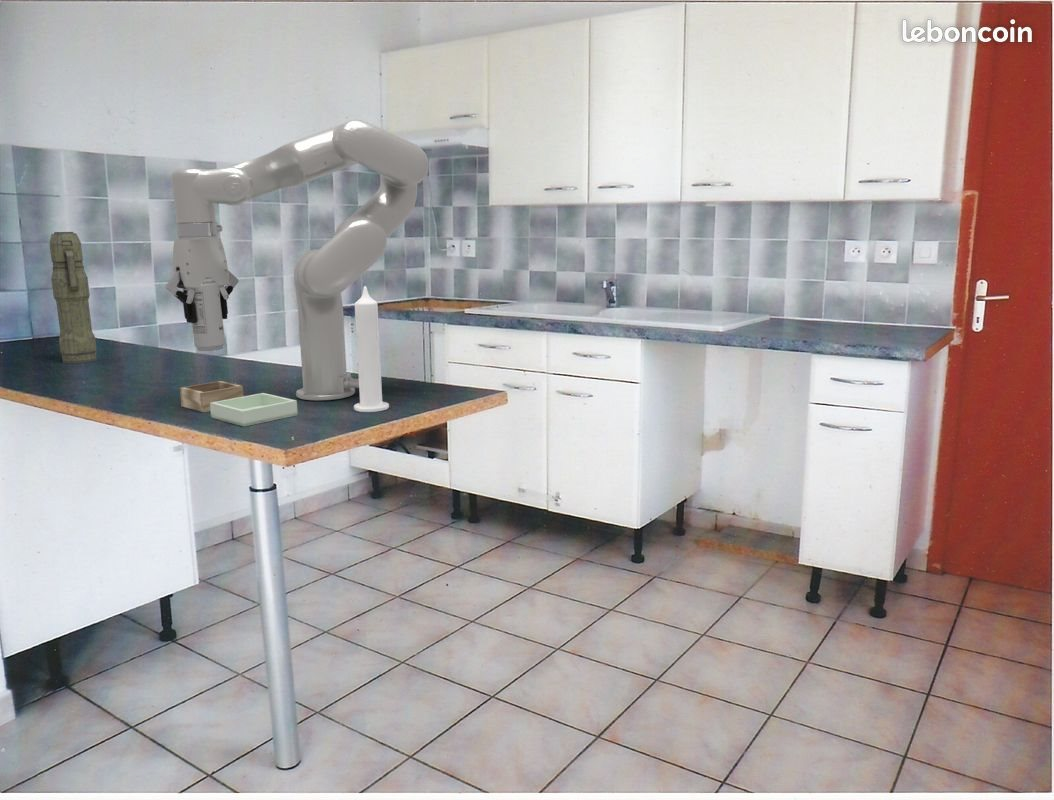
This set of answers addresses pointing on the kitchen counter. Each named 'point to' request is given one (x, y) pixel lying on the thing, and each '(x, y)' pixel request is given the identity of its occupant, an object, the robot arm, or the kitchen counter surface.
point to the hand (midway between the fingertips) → (207, 319)
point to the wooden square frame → (208, 394)
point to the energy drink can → (208, 317)
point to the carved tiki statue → (72, 299)
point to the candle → (368, 355)
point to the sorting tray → (253, 409)
